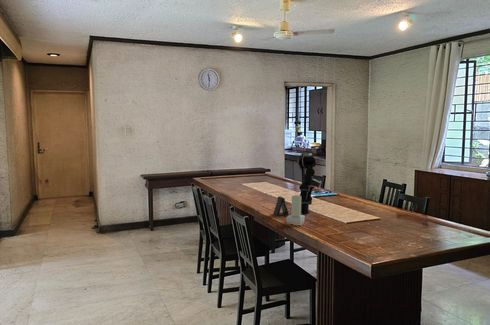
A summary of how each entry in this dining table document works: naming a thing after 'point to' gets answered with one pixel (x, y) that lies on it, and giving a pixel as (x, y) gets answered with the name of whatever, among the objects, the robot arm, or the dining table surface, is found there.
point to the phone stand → (278, 206)
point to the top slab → (295, 218)
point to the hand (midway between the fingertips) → (307, 198)
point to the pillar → (296, 206)
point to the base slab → (295, 223)
